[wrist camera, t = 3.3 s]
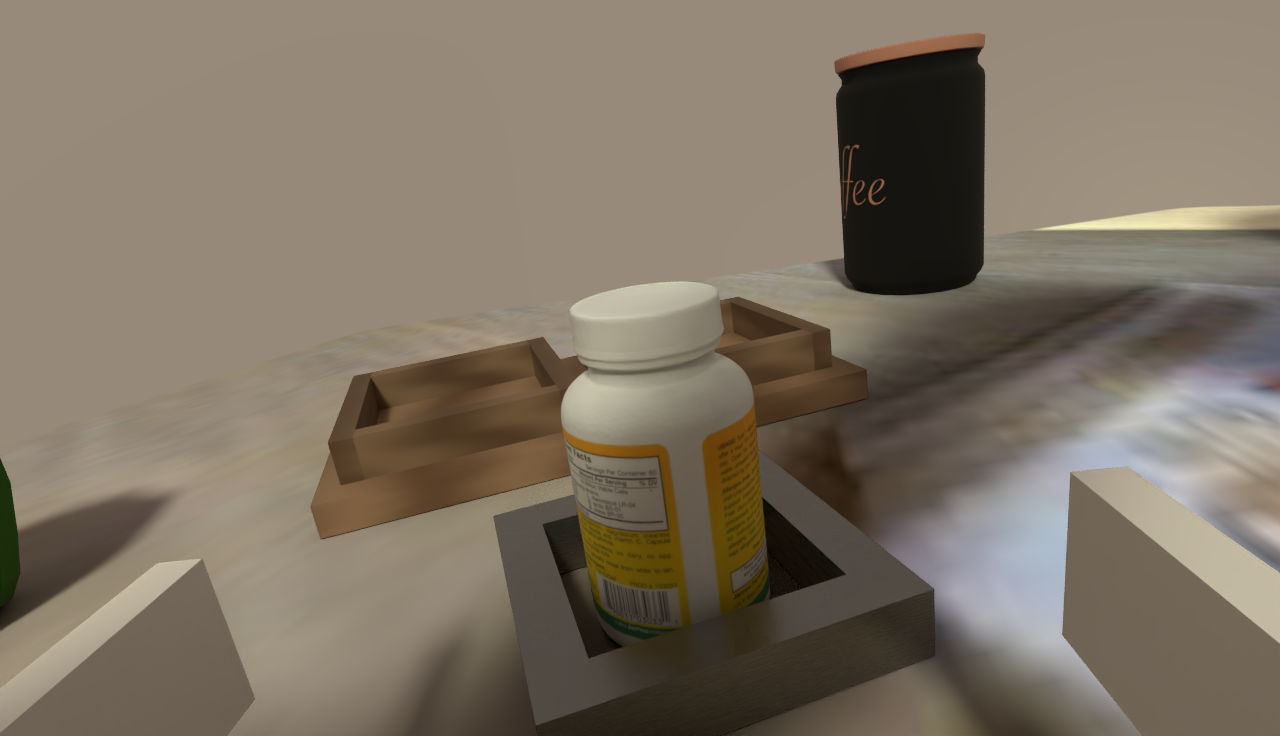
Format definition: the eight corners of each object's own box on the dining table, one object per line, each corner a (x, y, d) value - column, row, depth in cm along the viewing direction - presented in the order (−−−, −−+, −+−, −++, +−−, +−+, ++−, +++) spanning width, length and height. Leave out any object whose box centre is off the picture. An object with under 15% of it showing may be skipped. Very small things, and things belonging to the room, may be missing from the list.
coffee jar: (841, 275, 64) (830, 66, 58) (966, 263, 61) (966, 44, 56) (850, 302, 54) (838, 53, 48) (999, 289, 51) (1003, 25, 46)
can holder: (759, 493, 27) (754, 446, 26) (935, 655, 18) (934, 588, 17) (504, 565, 24) (493, 516, 24) (552, 797, 15) (535, 725, 15)
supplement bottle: (614, 689, 18) (548, 338, 15) (586, 577, 23) (532, 298, 20) (804, 636, 19) (776, 295, 16) (737, 539, 24) (706, 267, 21)
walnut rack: (747, 340, 47) (742, 290, 46) (867, 398, 34) (864, 331, 33) (353, 428, 41) (338, 373, 40) (320, 539, 28) (296, 462, 27)
